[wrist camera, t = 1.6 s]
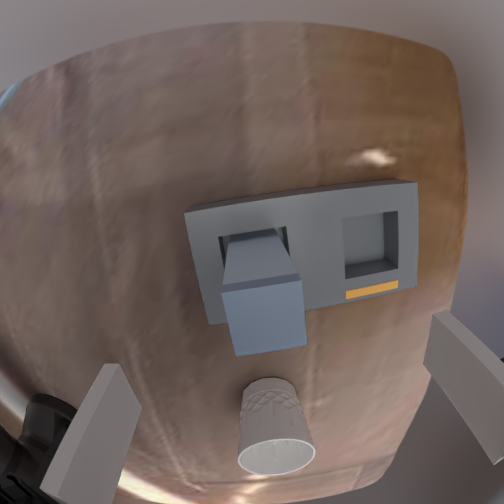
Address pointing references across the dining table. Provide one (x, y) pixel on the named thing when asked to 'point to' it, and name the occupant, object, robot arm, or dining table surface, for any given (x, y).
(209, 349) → the dining table surface
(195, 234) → the panel
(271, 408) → the white cup
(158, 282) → the dining table surface
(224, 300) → the plug
